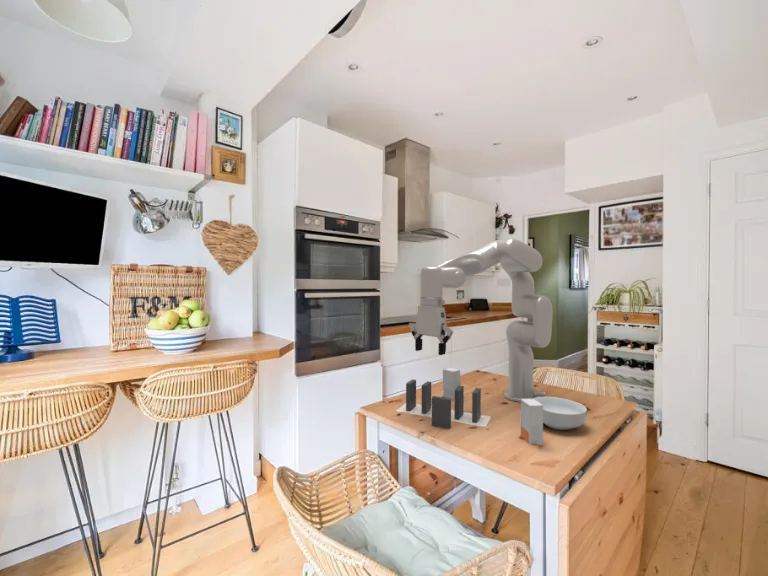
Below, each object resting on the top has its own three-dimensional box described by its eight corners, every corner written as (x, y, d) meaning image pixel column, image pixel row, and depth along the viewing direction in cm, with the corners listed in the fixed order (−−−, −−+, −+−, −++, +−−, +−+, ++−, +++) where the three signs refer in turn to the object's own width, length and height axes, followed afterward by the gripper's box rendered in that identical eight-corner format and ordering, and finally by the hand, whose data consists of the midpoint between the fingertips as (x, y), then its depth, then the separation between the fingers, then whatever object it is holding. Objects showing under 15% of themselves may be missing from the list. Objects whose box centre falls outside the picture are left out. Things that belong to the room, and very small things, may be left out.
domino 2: (431, 408, 133) (431, 381, 133) (425, 414, 128) (425, 386, 128) (427, 407, 134) (427, 381, 134) (421, 413, 129) (421, 385, 128)
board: (491, 418, 126) (491, 416, 126) (485, 428, 117) (485, 427, 117) (406, 404, 140) (406, 402, 140) (395, 412, 131) (395, 410, 131)
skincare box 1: (461, 399, 145) (461, 369, 145) (454, 402, 142) (454, 371, 142) (449, 395, 150) (449, 366, 150) (442, 398, 147) (442, 368, 147)
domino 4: (463, 414, 128) (463, 386, 128) (459, 419, 123) (459, 390, 122) (458, 413, 129) (459, 385, 128) (454, 419, 123) (454, 390, 123)
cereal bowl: (567, 440, 108) (567, 417, 108) (520, 422, 122) (520, 401, 122) (597, 428, 117) (597, 406, 117) (550, 412, 131) (550, 393, 131)
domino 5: (480, 417, 125) (480, 388, 125) (476, 423, 120) (477, 393, 120) (475, 416, 126) (476, 387, 126) (472, 422, 121) (472, 392, 120)
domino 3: (433, 425, 119) (433, 395, 119) (450, 429, 116) (451, 398, 116) (431, 427, 118) (431, 397, 117) (449, 431, 115) (449, 400, 115)
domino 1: (416, 406, 136) (416, 379, 136) (410, 411, 131) (410, 383, 130) (412, 405, 137) (412, 379, 136) (406, 410, 131) (406, 383, 131)
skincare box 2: (519, 437, 111) (520, 398, 110) (533, 436, 111) (533, 398, 111) (529, 446, 105) (529, 405, 104) (543, 445, 105) (544, 405, 105)
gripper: (458, 303, 120) (457, 354, 121) (417, 301, 132) (416, 347, 132) (446, 304, 115) (445, 357, 115) (404, 301, 127) (403, 350, 127)
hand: (430, 352), depth 124 cm, fingers open, 9 cm apart
